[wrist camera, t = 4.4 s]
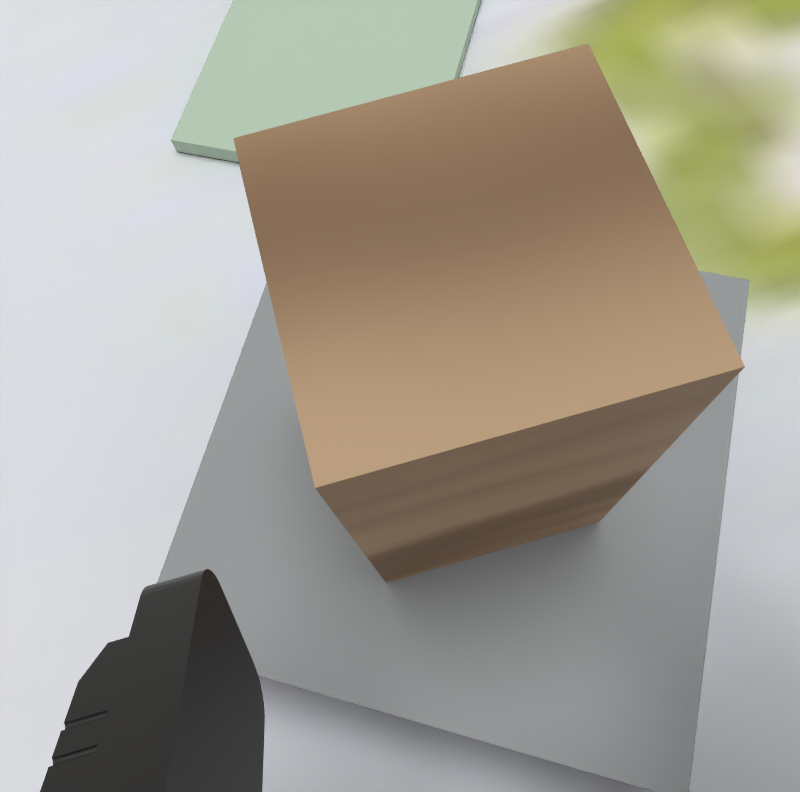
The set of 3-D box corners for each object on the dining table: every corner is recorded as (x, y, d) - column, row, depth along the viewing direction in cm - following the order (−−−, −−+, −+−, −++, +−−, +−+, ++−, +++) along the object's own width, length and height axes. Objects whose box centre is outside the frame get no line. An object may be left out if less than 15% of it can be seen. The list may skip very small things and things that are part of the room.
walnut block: (599, 521, 17) (744, 367, 8) (386, 582, 17) (314, 488, 8) (528, 330, 19) (588, 43, 10) (335, 383, 18) (232, 138, 10)
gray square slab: (700, 346, 22) (749, 280, 19) (640, 775, 18) (687, 801, 15) (322, 270, 24) (297, 196, 20) (194, 646, 20) (136, 640, 17)
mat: (481, -2, 28) (482, -16, 27) (422, 195, 25) (422, 184, 24) (257, -33, 29) (253, -47, 29) (177, 151, 26) (170, 139, 26)
